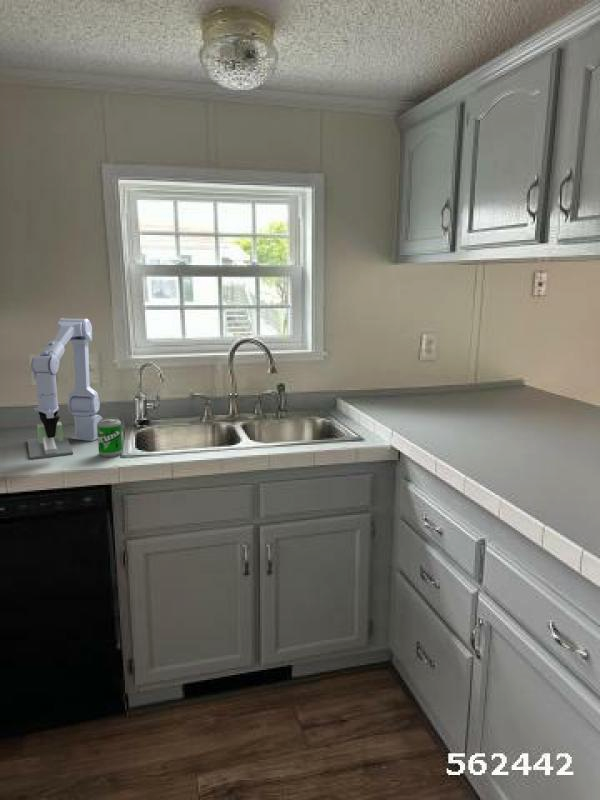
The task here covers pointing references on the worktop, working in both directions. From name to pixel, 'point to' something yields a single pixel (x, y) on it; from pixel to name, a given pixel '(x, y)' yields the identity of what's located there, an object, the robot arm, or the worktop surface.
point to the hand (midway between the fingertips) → (50, 435)
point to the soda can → (109, 437)
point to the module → (43, 434)
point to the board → (40, 450)
